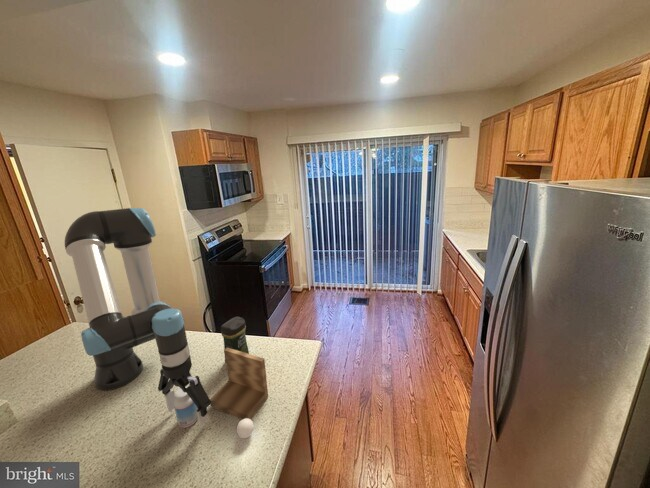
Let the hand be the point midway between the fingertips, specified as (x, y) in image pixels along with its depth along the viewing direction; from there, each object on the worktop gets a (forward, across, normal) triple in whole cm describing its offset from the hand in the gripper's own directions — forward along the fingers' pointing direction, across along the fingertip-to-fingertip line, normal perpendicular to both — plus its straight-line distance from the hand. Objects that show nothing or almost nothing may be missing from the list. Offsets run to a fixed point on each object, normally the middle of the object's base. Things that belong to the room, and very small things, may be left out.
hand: (187, 415), depth 83 cm
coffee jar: (+2, -4, +28) cm, 28 cm away
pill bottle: (+2, 0, 0) cm, 2 cm away
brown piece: (+2, +11, +12) cm, 16 cm away
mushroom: (+2, +21, +3) cm, 21 cm away
